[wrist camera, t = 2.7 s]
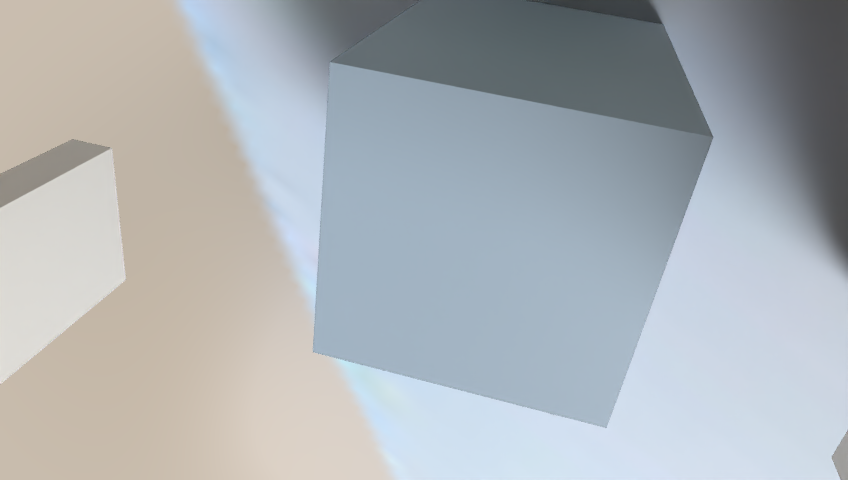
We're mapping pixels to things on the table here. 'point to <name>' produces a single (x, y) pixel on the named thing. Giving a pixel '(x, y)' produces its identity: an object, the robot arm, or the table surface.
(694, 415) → the table surface
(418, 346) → the slate blue block
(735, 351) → the table surface
